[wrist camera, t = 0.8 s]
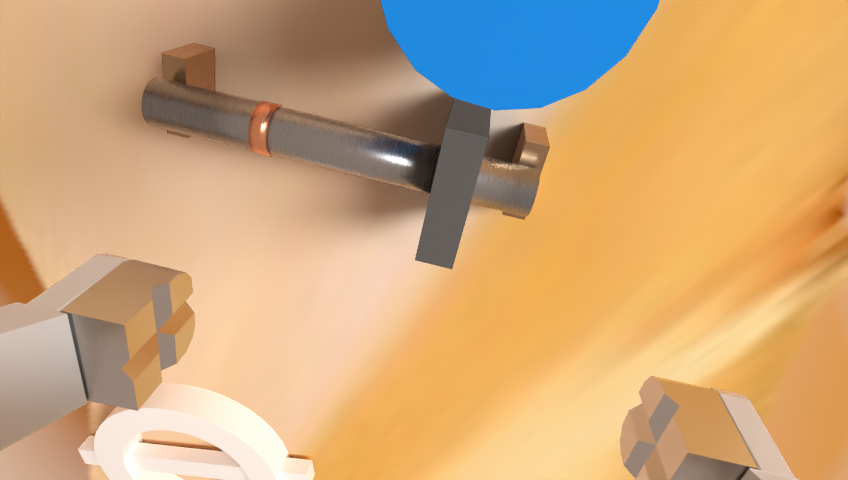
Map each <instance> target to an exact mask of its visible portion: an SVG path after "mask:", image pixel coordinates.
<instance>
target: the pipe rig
mask: <svg viewBox="0 0 848 480" xmlns="http://www.w3.org/2000/svg"><path fill="white" fill-rule="evenodd" d="M162 64H163V78H154V79H152V80H151V81H150V82H149V83H148V84H147V86H146V88H145V90H144V93H143V97H142V113H143V116H144V119H145V121H146V122H147V123H148V124H149V125H151V126H154V127H159V128H163V129H167V133H170V134H174V135H178V136H182V137H186V138H190V137H191V136H196V137H200V138H204V139H208V140H212V141H216V142H220V143H224V144H228V145H233V146H237V147H241V148H245V149H249V150H251V151H252V152H254V153H258V154H262V155H266V156H270V157H271V156H278V157H282V158H286V159H290V160H294V161H298V162H303V163H307V164H311V165H315V166H319V167H323V168H327V169H331V170H335V171H340V172H344V173H348V174H352V175H356V176H360V177H364V178H368V179H372V180H377V181H381V182H385V183H389V184H393V185H397V186H401V187H405V188H409V189H414V190H418V191H422V192H426V193H431V189H432V184H433V180H434V176H435V171H436V167H437V163H438V158H439V154H440V150H441V146H440V145H436V144H432V143H428V142H424V141H419V140H415V139H411V138H407V137H403V136H399V135H395V134H390V133H386V132H382V131H378V130H374V129H370V128H366V127H362V126H357V125H353V124H349V123H345V122H341V121H337V120H333V119H328V118H324V117H320V116H316V115H312V114H308V113H304V112H299V111H295V110H291V109H287V108H283V107H282V106H281V105H278V104H274V103H270V102H266V101H260V102H258V101H254V100H250V99H246V98H242V97H237V96H233V95H229V94H225V93H221V92H217V91H215V48H211V47H207V46H203V45H199V44H194V43H193V44H189V45H186V46H183V47H180V48H177V49H174V50H170V51H167V52H164V53H162ZM549 148H550V145H549V141H548V137H547V132H546V128H544V127H539V126H535V125H531V124H527V123H524V124H523V127H522V131H521V134H520V137H519V140H518V143H517V146H516V150H515V153H514V156H513V159H512V162H511V163H510V162H506V161H502V160H498V159H494V158H490V157H486V156H484V157H483V161H482V164H481V168H480V171H479V175H478V178H477V182H476V186H475V189H474V193H473V196H472V200H471V204H475V205H479V206H484V207H488V208H492V209H496V210H500V211H502V214H503V215H507V216H511V217H515V218H519V219H523V220H524V219H525V217H527V216H528V215H529V213H530V211H531V209H532V206H533V203H534V200H535V197H536V193H537V189H538V185H539V179H540V174H541V171H542V168H543V165H544V162H545V159H546V156H547V154H548V151H549Z"/></svg>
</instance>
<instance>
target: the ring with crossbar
mask: <svg viewBox="0 0 848 480" xmlns="http://www.w3.org/2000/svg"><path fill="white" fill-rule="evenodd" d="M151 430H169V431H176V432H181V433H185V434H189V435H192V436H195V437H197V438H200V439H202V440H205V441H207V442H209V443H211V444H213V445H215V446H216V447H218V448H220V449H221V450H223V451H224V452H223V451H214V450H205V449H195V448H186V447H176V446H167V445H158V444H148V443H144V442H143V440H142V436H141V433H142V432H146V431H151ZM78 451H79V452H80V454H81V456H82V458H83V460H84V462H85V463H86V464H93V465H100V467H101V468H102V470H103V472H104V473H105V474H106V476H107V477H108V478H109V480H184V479H182V478H180V477H178V476H176V475H174V474H180V475H189V476H198V477H207V478H215V479H224V480H313V478H314V475H315V474H314V469H313V464H312V460H306V459H297V458H290V457H289V454H288V452H287V449H286V447H285V446H284V444H283V442H282V441H281V439H280V438H279V436H278V435H277V434H276V433H275V431H274V430H273V429H272V428H271V427H270V426H269V425H268V424H267V423H266V422H265V421H264V420H262V419H261V418H260V417H259V416H258V415H256V414H255V413H254V412H252V411H251V410H249V409H248V408H246V407H245V406H243V405H241V404H239V403H238V402H236V401H234V400H232V399H230V398H228V397H225V396H223V395H221V394H218V393H215V392H213V391H209V390H206V389H203V388H199V387H194V386H189V385H183V384H160V385H159V386H158V387H157V388H156V390H155V391H154V392H153V393H152V394H151V396H150V397H149V398H148V399H147V401H146V402H145V403H144V404H143V405H142V407H141V408H140V409H139V410H138V411H136V410H131V409H126V408H121V407H115V408H114V410H113V411H112V412H111V413H110V414H109V415H108V417H107V418H106V419H105V420H104V421H103V423H102V424H101V425H100V426H99V428H98V430H97V432H96V434H95V436H89V437H88V438H87V439H86V440H85V441H84V443H83V444H82V445H81V446H80V447H79V449H78Z"/></svg>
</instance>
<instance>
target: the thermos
mask: <svg viewBox="0 0 848 480" xmlns="http://www.w3.org/2000/svg"><path fill="white" fill-rule="evenodd" d="M380 1H381V4H382V8H383V11H384V15H385V19H386V22H387V26H388V29H389V31H390V33H391V34H392V36H393V37H394V39H395V40H396V42H397V43H398V45H399V46H400V47H401V49H402V50H403V52H404V53H405V55H406V56H407V58H408V59H409V61H410V62H411V64H412V65H413V67H414V68H415V70H416V71H418V72H419V73H420V74H422V75H423V76H424V77H426V78H427V79H428V80H430V81H431V82H432V83H434V84H435V85H436V86H438V87H439V88H440V89H442V90H443V91H444V92H446V93H447V94H448V95H450V96H451V97H452V98H456V99H459V100H462V101H466V102H469V103H472V104H476V105H479V106H482V107H486V108H489V109H492V110H509V109H528V108H541V107H544V106H546V105H549V104H551V103H554V102H556V101H558V100H561V99H563V98H566V97H568V96H571V95H573V94H576V93H578V92H581V91H583V90H585V89H587V88H588V87H589V86H590V85H592V84H593V83H594V82H595V81H596V80H598V79H599V78H600V77H601V76H602V75H604V74H605V73H606V72H607V71H608V70H610V69H611V68H612V67H613V66H614V65H616V64H617V63H618V62H619V61H620V60H622V59H623V58H624V57H625V56H626V55H627V53H628V52H629V50H630V49H631V47H632V46H633V44H634V43H635V41H636V40H637V38H638V37H639V35H640V34H641V32H642V31H643V29H644V27H645V26H646V24H647V23H648V21H649V20H650V18H651V17H652V15H653V14H654V12H655V11H656V9H657V7H658V4H659V0H380Z"/></svg>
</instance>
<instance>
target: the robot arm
mask: <svg viewBox="0 0 848 480" xmlns="http://www.w3.org/2000/svg"><path fill="white" fill-rule="evenodd" d="M192 293H193V288H192V280H191V277H190V276H189V275H188V274H187V273H186V272H182V271H178V270H174V269H170V268H166V267H161V266H157V265H153V264H149V263H145V262H141V261H137V260H130V259H127V258H123V257H119V256H115V255H111V254H99V255H96V256H94V257H93V258H91V259H90V260H88V261H87V262H86V263H84V264H83V265H81V266H80V267H78V268H77V269H76V270H74V271H73V272H71V273H70V274H69V275H67V276H66V277H64V278H63V279H61V280H60V281H59V282H57V283H56V284H54V285H53V286H51V287H50V288H49V289H47V290H46V291H44V292H43V293H41V294H40V295H39V296H37V297H36V298H34V299H33V300H32V301H30V302H29V303H27V304H22V303H18V302H16V303H12V304H9V305H5V306H2V307H0V451H1V450H3V449H4V448H6V447H8V446H10V445H12V444H14V443H15V442H17V441H19V440H21V439H23V438H25V437H27V436H28V435H30V434H32V433H34V432H36V431H38V430H39V429H41V428H43V427H45V426H47V425H48V424H51V423H52V422H54V421H56V420H58V419H60V418H61V417H63V416H65V415H67V414H69V413H71V412H73V411H74V410H76V409H78V408H80V407H82V406H84V405H85V404H87V401H91V402H96V403H101V404H106V405H111V406H116V407H121V408H126V409H131V410H136V411H138V410H139V409H140V408H141V407H142V405H143V404H144V403H145V402H146V401H147V399H148V398H149V397H150V396H151V394H152V393H153V392H154V391H155V390H156V388H157V387H158V386H159V385H160V384H161V382H162V377H161V370H163V369H165V368H168V367H170V366H172V365H174V364H177V363H178V361H179V360H180V359H181V358H182V356H183V355H184V354H185V352H186V351H187V349H188V346H189V344H190V342H191V339H192V337H193V333H194V326H195V315H194V312H193V310H192V309H191V308H190V306H189V305H188V304H187V302H186V300H187V299H188V298H189V296H190V295H191V294H192ZM639 394H640V397H641V400H642V404H640V405H638V406H637V407H635V408H633V409H631V410H629V412H628V414H627V416H626V418H625V420H624V423H623V426H622V432H621V438H620V445H621V455H622V459H623V464H624V466H625V467H626V468H627V469H628V471H629V472H630V473H631V474H632V475H633V476H634V477H635V480H800V479H796V478H795V477H794V476H793V474H792V472H791V471H790V469H789V467H788V465H787V464H786V462H785V460H784V459H783V457H782V455H781V453H780V452H779V450H778V448H777V447H776V445H775V443H774V442H773V440H772V438H771V436H770V435H769V433H768V431H767V429H766V428H765V426H764V424H763V422H762V421H761V419H760V417H759V416H758V414H757V412H756V410H755V409H754V407H753V405H752V404H751V402H750V400H749V399H747V398H746V397H745V396H744V395H742V394H739V393H734V392H729V391H724V390H719V389H714V388H710V389H709V388H705V387H700V386H696V385H691V384H686V383H682V382H677V381H672V380H668V379H663V378H659V377H654V376H651V377H649V378H648V379H647V380H646V381H645V382H644V384H643V386H642V387H641V389H640V391H639Z"/></svg>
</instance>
